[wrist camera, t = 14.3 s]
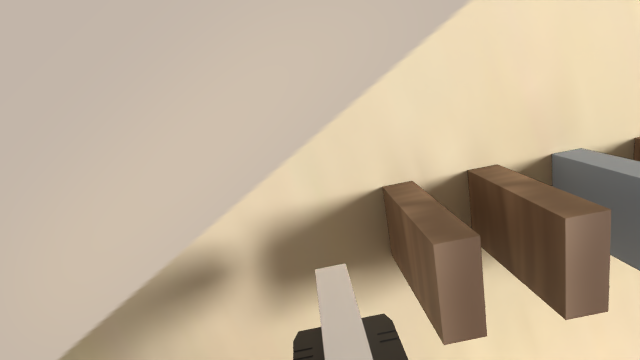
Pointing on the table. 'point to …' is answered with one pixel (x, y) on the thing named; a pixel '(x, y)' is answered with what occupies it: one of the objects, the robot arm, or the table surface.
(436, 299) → the domino
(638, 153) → the domino
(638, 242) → the domino
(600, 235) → the domino
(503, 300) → the table surface
